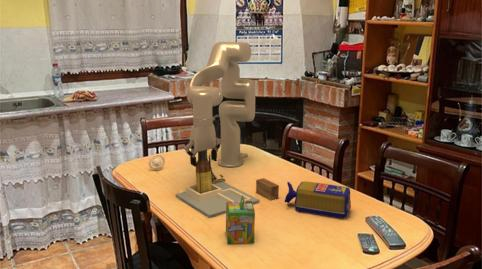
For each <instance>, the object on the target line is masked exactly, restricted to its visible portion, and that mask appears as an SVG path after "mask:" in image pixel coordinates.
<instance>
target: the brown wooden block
mask: <svg viewBox="0 0 482 269" xmlns="http://www.w3.org/2000/svg"><path fill="white" fill-rule="evenodd" d="M255 180H256V181H255V194H257V195H259V196H261V197H262V198H265V199H266V200H268V201H270V202H272V201H275V199H276V200H279V192H280V191H279V190H280V189H279V188H280V185H279V184H277V183H275V182H273V181H271V180H268V179H267V178H265V177H263V178H262V177H261V178H259V179H255Z"/></svg>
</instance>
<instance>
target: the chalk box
mask: <svg viewBox="0 0 482 269" xmlns="http://www.w3.org/2000/svg"><path fill="white" fill-rule="evenodd" d="M255 219H256V213H255V207H254V204H253V203H252V201H244V197H243V195H242V198H241V201H240V202H226V213H225V235H226V242H227V245H234V244H235V245H237V244H238V245H239V244H241V245H242V244H255V225H256V224H255Z"/></svg>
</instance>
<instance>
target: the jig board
mask: <svg viewBox="0 0 482 269" xmlns="http://www.w3.org/2000/svg"><path fill="white" fill-rule="evenodd" d="M242 195H243V197H244V201H252V203H253V205H255V204H259V203H260V199H259V198H257V197H256V196H255V197H254V196H253V195H252V194H249V193H247V192H245V191H243V190H241V189H239V188H237V187H235V186H233V185H231V184H229V183H227V182H226V181H225V182H220V183H216V184H212V191H209V192H206V193H202V194H200V193H198V192H197V186H196V184H192V185H188V186H186V187H185V191H182V192H179V193H175V198H176V199H178V200H179V201H182V202H183V203H184V204H186V205H188V206H190V208H193V210H196V211H198V212H199V213H200V214H202V215H204V216H205V217H207V218H208V219H211V218H215V217H218V216H221V215H224V214H225V215H226V202H240V201H241V198H242Z"/></svg>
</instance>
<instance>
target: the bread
mask: <svg viewBox="0 0 482 269" xmlns="http://www.w3.org/2000/svg"><path fill="white" fill-rule="evenodd" d="M286 184H287V188H288V192H287V194H286V196H285V198H284V203H287V204H289V203H290V202H291V201H292V200H293V199H294V208H295V211H296V212H301V213H306V214H312V215H318V216H325V217H330V218H337V219H342V218H343V220H345V219H346V218H347V217H348V214H349V213H350V210H351V208H352V205H351V203H352V202H351V187H347V186H342V185H335V184H327V183H322V182H315V181H314V182H312V181H301V182H300V183H299V185H297V187H296V190H295V189H294V187H293V185H292V184H291V182H290V181H287V183H286Z"/></svg>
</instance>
